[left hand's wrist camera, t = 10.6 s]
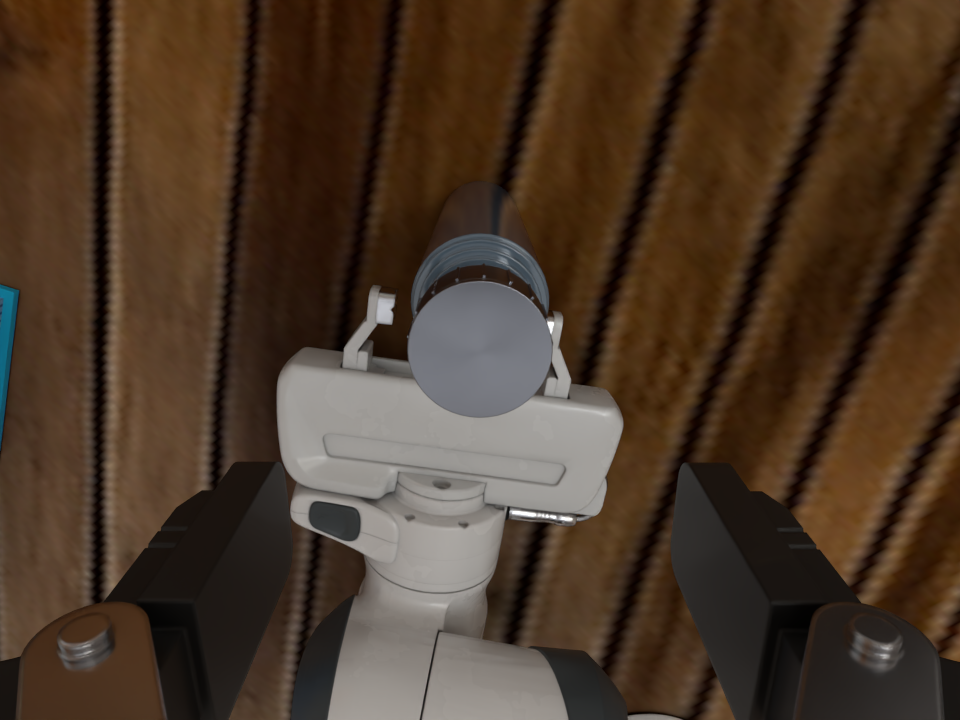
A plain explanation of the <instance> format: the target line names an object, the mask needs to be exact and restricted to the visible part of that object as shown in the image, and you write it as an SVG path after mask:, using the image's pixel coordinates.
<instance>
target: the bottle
mask: <svg viewBox="0 0 960 720" xmlns="http://www.w3.org/2000/svg"><path fill="white" fill-rule="evenodd" d="M482 264H485V265H489V266H494V267H499V268H502V269H505V270H508V269H509V270H510V272H511V273H513V274H515V275H517V276H518V277H519V278H521V279H522V280H523V281H525V282H526V283H527V284H530V285H531V288H532V290H533V291H534V292H535V294H536V295H537V297H538V299H539V301H540V303H541V304H543V305H544V307H545V310H546V313H547V314H548V309H549V292H548V286H547V282H546V279H545V276H544V273H543V271H542V268H541V266H540V263H539V261H538V258H537V256H536V253H535V251H534V248H533V246H532V243H531V241H530V238H529V236H528V233H527V231H526V228H525V226H524V223H523V221H522V218H521V216H520V213H519V211H518V208H517V206H516V204H515V202H514V200H513V198H512V197H511V196H510V195H509V193H507V192H506V191H505V190H504V189H503V188H501V187H500V186H498V185H496V184H493V183H490V182H484V181H475V182H470V183H467V184H464V185H462V186H460V187H459V188H457V189H456V190H455V191H454V192H453V193H452V194H451V195H450V196H449V197H448V199H447V200H446V202H445V204H444V206H443V208H442V211H441V213H440V216H439V218H438V221H437V223H436V226H435V228H434V231H433V233H432V236H431V238H430V241H429V243H428V246H427V248H426V251H425V253H424V256H423V258H422V261H421V263H420V266H419V268H418V271H417V273H416V276H415V279H414V282H413V286H412V291H411V309H412V314H413V318H414V317H415V310H416V307H417V304H418V301H419V298H420V297H421V298H422V297H423V295H424V294H425V292H426V291H427V290H428V289H429V287H430V286H431V285H432V284H433V283H434V281H435V279H436V278H437V279H439V278H440V277H442V276H444V275H445V274H447V273H449V272H451V271H453V270H455V269H457V267H460V268H461V267H466V266H471V265H482Z"/></svg>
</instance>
